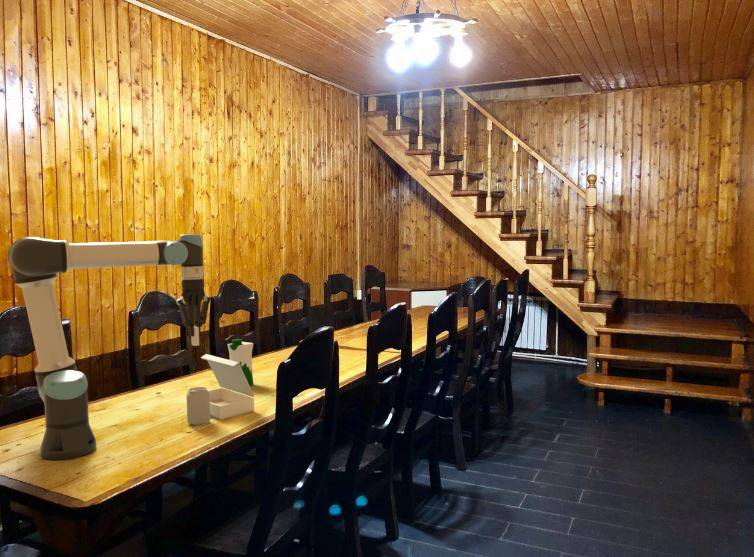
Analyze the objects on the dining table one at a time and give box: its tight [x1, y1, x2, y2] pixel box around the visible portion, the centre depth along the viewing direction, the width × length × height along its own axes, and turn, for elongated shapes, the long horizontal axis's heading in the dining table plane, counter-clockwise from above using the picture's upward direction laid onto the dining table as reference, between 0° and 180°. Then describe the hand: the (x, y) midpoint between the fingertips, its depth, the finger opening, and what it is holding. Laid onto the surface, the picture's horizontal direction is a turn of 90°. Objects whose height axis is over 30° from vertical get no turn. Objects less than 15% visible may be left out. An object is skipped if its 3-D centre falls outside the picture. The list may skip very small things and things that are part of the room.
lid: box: [200, 353, 255, 398], centre depth 233 cm, size 15×22×2 cm
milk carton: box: [227, 338, 255, 387], centre depth 266 cm, size 9×9×20 cm
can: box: [185, 386, 211, 427], centre depth 216 cm, size 8×8×12 cm
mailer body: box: [207, 387, 255, 421], centre depth 231 cm, size 14×22×5 cm, turn 45°
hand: (195, 345), depth 223 cm, fingers closed
